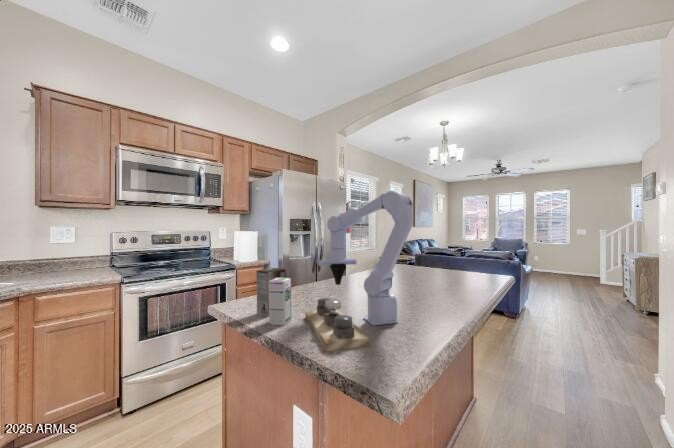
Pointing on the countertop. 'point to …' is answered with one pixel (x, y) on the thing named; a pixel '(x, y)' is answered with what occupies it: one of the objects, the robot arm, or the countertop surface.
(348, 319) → the knob
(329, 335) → the mount board
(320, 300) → the knob
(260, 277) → the coffee box
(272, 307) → the syrup box
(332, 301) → the knob middle
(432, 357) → the countertop surface
